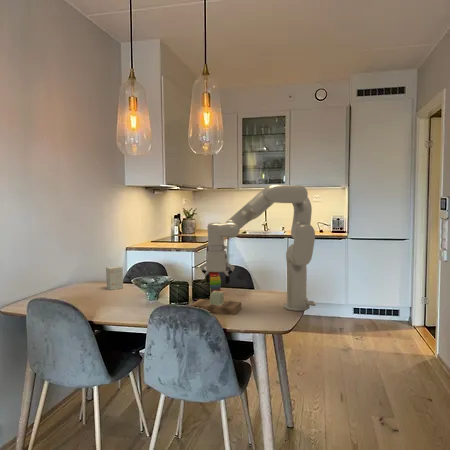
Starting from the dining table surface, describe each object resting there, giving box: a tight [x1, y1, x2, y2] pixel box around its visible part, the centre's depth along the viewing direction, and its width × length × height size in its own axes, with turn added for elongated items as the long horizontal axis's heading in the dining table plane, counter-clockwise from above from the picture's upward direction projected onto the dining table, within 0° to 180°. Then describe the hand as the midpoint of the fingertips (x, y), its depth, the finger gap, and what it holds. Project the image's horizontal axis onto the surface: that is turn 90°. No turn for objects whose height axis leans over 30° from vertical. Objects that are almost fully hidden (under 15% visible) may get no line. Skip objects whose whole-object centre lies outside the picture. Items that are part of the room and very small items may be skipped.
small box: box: [105, 265, 124, 291], centre depth 242 cm, size 8×6×13 cm
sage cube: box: [209, 292, 223, 305], centre depth 196 cm, size 5×5×5 cm
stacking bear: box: [204, 272, 224, 293], centre depth 226 cm, size 11×10×18 cm
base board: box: [190, 298, 242, 316], centre depth 196 cm, size 22×12×3 cm, turn 73°
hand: (217, 283), depth 196 cm, fingers open, 9 cm apart
